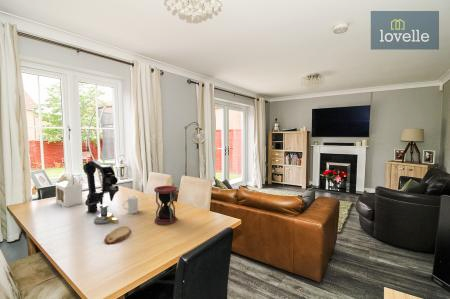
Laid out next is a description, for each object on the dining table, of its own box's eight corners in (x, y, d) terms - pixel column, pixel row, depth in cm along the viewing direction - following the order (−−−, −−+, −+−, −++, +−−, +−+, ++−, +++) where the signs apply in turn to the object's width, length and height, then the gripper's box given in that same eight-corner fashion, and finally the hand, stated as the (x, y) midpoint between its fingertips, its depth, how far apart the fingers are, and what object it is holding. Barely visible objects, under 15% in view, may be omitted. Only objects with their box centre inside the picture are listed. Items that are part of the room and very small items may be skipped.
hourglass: (169, 215, 174) (169, 184, 172) (180, 221, 162) (181, 188, 160) (150, 220, 162) (150, 187, 161) (161, 227, 151) (161, 192, 149)
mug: (124, 215, 172) (124, 200, 171) (121, 212, 178) (121, 197, 178) (139, 212, 180) (139, 197, 179) (136, 209, 186) (136, 195, 185)
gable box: (82, 203, 199) (81, 173, 197) (65, 207, 188) (64, 175, 186) (72, 198, 212) (71, 170, 210) (56, 202, 201) (55, 172, 199)
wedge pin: (99, 218, 159) (99, 206, 158) (104, 216, 163) (103, 204, 162) (104, 219, 158) (103, 207, 157) (108, 217, 162) (108, 205, 161)
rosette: (89, 222, 156) (89, 216, 156) (104, 216, 168) (104, 210, 168) (109, 226, 151) (109, 219, 151) (122, 219, 164) (122, 213, 163)
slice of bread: (126, 227, 150) (126, 222, 150) (138, 236, 138) (138, 230, 137) (97, 236, 137) (97, 230, 137) (107, 246, 125) (107, 240, 125)
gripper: (104, 186, 154) (104, 208, 155) (124, 181, 171) (124, 200, 173) (92, 184, 157) (92, 205, 158) (112, 179, 175) (113, 198, 176)
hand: (106, 202), depth 166 cm, fingers open, 9 cm apart
